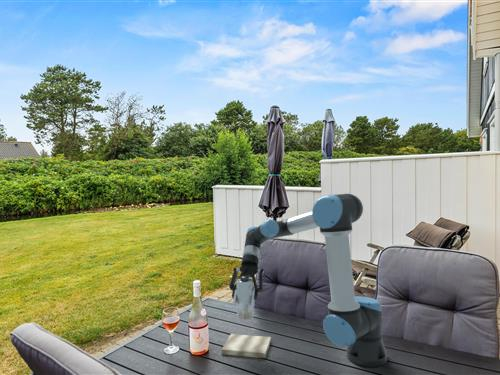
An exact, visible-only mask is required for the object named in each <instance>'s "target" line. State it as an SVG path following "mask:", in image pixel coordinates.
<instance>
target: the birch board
mask: <svg viewBox="0 0 500 375" xmlns="http://www.w3.org/2000/svg"><path fill="white" fill-rule="evenodd" d="M271 343H272V337H271V336H265V335H264V336H261V335H248V334H236V333H231V334H230V335H229V336H228V338H227V340H226V342H225V343H224V345H223V346H222V348H221V355H225V356H228V355H229V356H237V357H246V358H247V357H248V358H249V357H250V358H258V359H266V357H267V354H268V352H269V349H270V345H271Z"/></svg>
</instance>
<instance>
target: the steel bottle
mask: <svg viewBox="0 0 500 375" xmlns="http://www.w3.org/2000/svg"><path fill="white" fill-rule="evenodd" d="M239 277H240V276H239ZM235 284H236V287H237V303H236V317H237V318H238V319H240V320H249V319H252V318H254V317H255V313H254V312H255V309H254V308H255V307H254V308H252V307H251V301H252V294H253V290H254V284H253V280H252V278H250V277H249V276H241V277H240V279H236V281H235Z"/></svg>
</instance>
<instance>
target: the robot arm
mask: <svg viewBox="0 0 500 375" xmlns="http://www.w3.org/2000/svg"><path fill="white" fill-rule="evenodd" d="M363 213H364V205H363V202H362V201H361V199H360V198H359V197H358V196H356V195H354V194H351V193H340V194H328V195H324V196H321V197H319V198H318V199H317V200H316V201H315V203H314V204H313V206H312V209H311V211H308V212H305V213H303V214H302V213H301V214H299V215H296V216H293V217H290V218H287V219H283V220H282V219H281V220H278V221H276V220H273V219H267V220H266V221H263V222H262V223H261V224H259V226H250V227H249V228H247V231H246V234H245V241H244V247H243V253H242V258H241V263H240V264H241V265H240V266H239V267H233V274H232V276H231V279H230V283H229V290H230V291H232V294H231V299H233V300H232V305H233V306H232V307H233V308H237V287H236V281H237V280H238V279H240V277H241V276H249V278H251V279H252V280H253V294H252V301H251V307H252V308H255V304H256V303H255V302H256V301H257V300H258V298H259V297H258V296H259V293H262V292H264V274H265V271H264V268H262V267H261V268H259V261H260V260H259V259H260V254H261V246H262V244H265V242H267V241H269V240H272V239H277V238H281V237H286V236H288V237H289V236H293V235H295V234H298V233H301V232H306V231H309V230H313V229H317V228H319V232H320V234H322V235H323V237H324V240H325V243H324V244H325V252H326V261H327V271H328V272H327V273H328V281H329V292H330V302H329V303H328V304H327V315H326V316H325V317H324V319H323V321H322V327H323V331H324V334H325V336H326V337H327V338H328V339H329V341H330V342H332V344H334V345H335V346H338V347H340V348H346V357H347V359H348V360H349V361H351V362H352V363H353V364H356V365H358V366H361V367H368V368H377V367H383V366H384V365H386V364H387V362H388V353H387V350H386V347H385V344H384V342H383V333H382V332H383V328H382V327H383V322H382V319H383V318H382V316H383V315H382V314H383V313H382V312H383V310H382V303H381V302H380V301H379V300H378V299H375V298H372V297H367V296H360V295H357V296H356V294H355V286H354V277H353V274H354V273H353V266H352V264H353V263H352V255H351V246H350V237H349V235H350V233H352V231H353V225H352V224H353V223H355V222H357V221H358V220H360V218H361V216H363ZM239 273H240V274H239ZM257 273H258V277H259V278H258V279H259V280H258V284H259V285H258V284H257V279H256V276H255V275H256V274H257ZM238 274H239V277H238ZM237 278H238V279H237Z"/></svg>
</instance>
